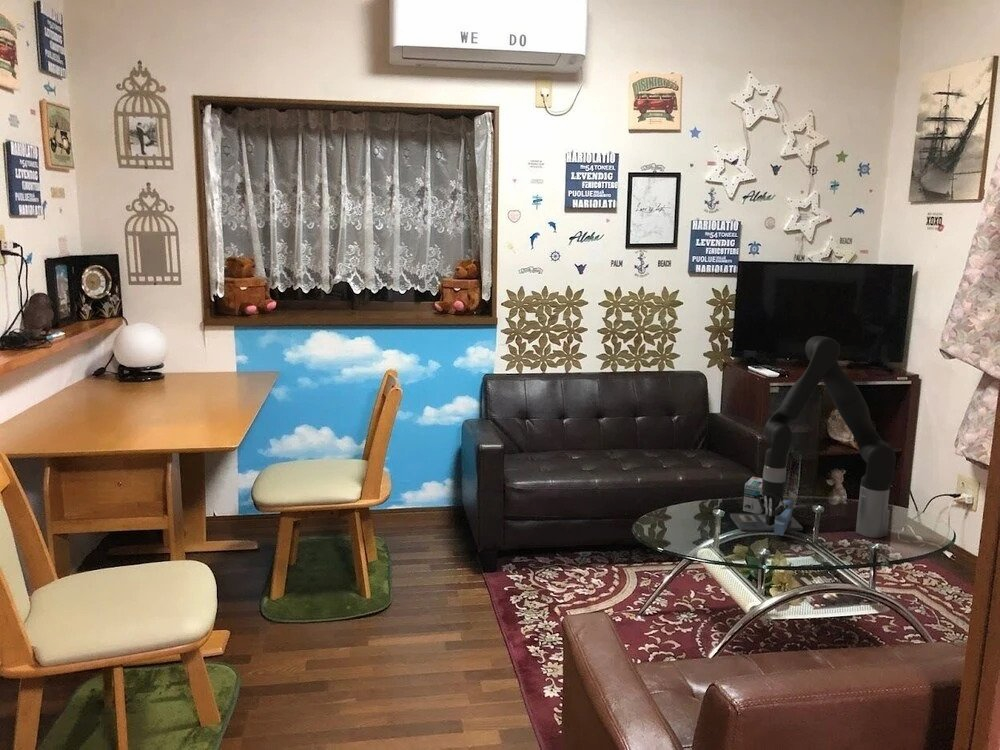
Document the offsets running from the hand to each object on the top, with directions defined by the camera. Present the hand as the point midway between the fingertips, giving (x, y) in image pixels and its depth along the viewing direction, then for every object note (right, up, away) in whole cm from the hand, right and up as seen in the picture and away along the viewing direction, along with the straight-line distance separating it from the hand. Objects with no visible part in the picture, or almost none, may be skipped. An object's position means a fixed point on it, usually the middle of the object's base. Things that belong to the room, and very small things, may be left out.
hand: (769, 524), depth 280 cm
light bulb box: (+2, +2, +23) cm, 23 cm away
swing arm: (+5, -1, +2) cm, 6 cm away
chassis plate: (+1, -1, +8) cm, 8 cm away
